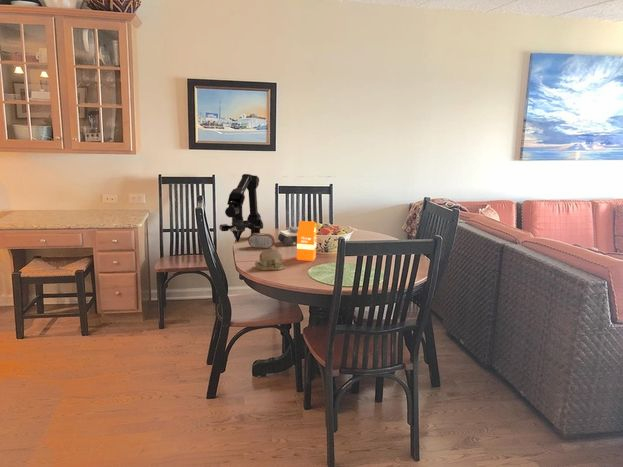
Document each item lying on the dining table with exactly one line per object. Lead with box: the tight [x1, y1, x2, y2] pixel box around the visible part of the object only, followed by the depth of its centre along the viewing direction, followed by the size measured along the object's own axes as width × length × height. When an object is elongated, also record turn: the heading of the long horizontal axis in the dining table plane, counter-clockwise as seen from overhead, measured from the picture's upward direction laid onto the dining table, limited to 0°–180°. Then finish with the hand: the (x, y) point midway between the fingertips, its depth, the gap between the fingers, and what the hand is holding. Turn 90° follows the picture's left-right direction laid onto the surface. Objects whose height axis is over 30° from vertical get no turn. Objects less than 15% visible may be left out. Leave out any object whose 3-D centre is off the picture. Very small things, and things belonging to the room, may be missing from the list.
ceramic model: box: [254, 247, 286, 271], centre depth 227 cm, size 14×11×10 cm
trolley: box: [277, 226, 298, 247], centre depth 277 cm, size 10×13×9 cm
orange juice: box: [296, 220, 318, 262], centre depth 244 cm, size 8×9×20 cm
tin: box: [247, 232, 276, 250], centre depth 264 cm, size 15×3×8 cm, turn 84°
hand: (237, 241), depth 258 cm, fingers closed
